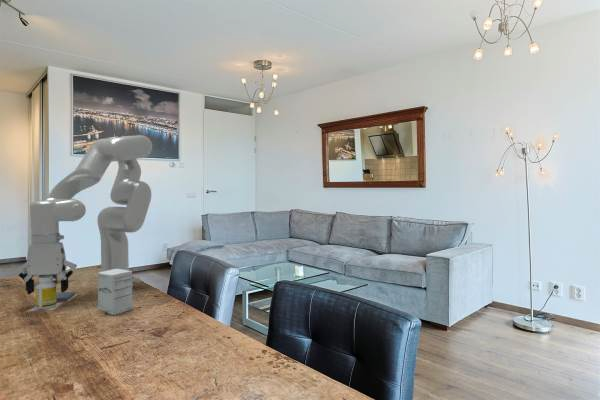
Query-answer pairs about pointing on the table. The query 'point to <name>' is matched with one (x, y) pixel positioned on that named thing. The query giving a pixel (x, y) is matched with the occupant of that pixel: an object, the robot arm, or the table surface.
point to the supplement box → (115, 291)
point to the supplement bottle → (46, 292)
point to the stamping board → (58, 305)
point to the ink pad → (64, 296)
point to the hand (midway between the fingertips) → (47, 292)
